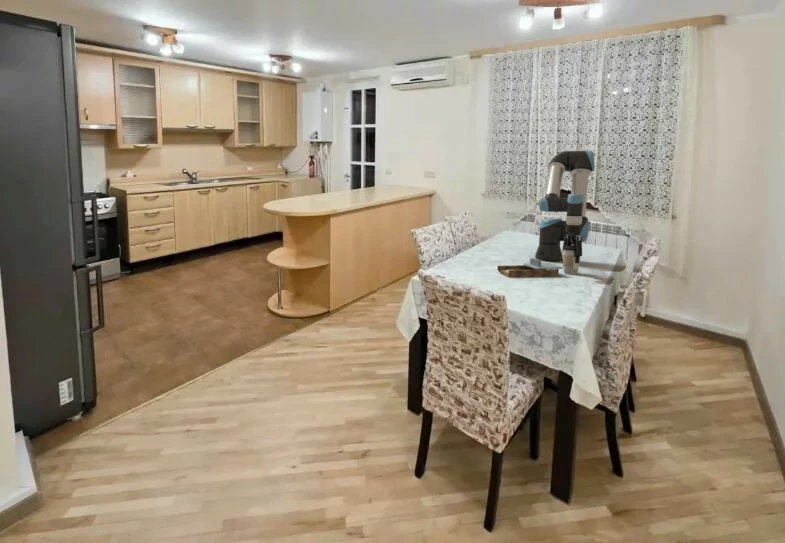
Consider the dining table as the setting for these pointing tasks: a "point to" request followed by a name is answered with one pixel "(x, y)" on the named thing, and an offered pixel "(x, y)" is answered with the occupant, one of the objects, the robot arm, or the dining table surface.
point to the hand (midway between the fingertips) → (570, 268)
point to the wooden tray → (526, 271)
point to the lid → (541, 265)
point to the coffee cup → (569, 260)
